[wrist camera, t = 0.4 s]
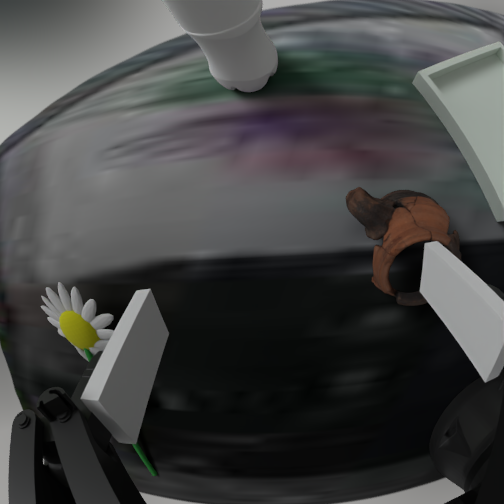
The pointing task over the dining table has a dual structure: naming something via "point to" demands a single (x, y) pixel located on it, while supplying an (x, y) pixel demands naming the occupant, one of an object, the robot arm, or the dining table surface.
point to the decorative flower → (82, 329)
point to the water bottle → (229, 40)
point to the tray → (473, 113)
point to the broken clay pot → (400, 231)
